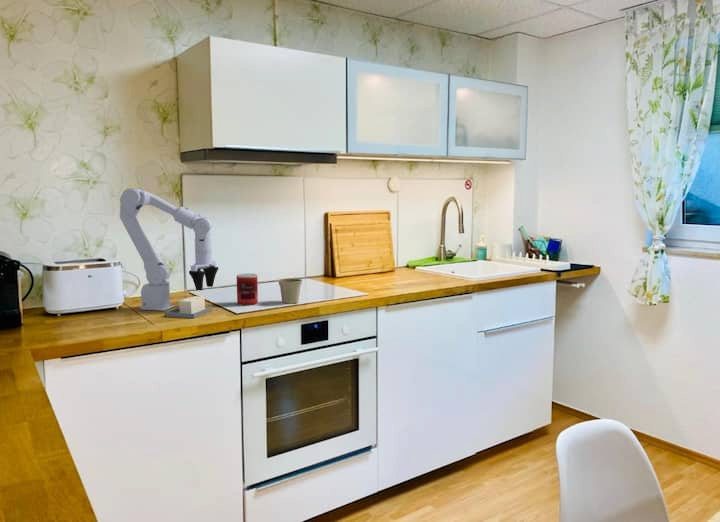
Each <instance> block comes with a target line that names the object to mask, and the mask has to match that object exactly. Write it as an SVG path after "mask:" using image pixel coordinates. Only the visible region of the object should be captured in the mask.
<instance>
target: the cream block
mask: <svg viewBox="0 0 720 522" xmlns="http://www.w3.org/2000/svg"><path fill="white" fill-rule="evenodd" d="M178 302H179V304H178V305H179V307H180V313H190V314H193V313H196V312H199V311H201V310H204V309H206V306H205V302H206V300H205V296H196V295H194V296H190V297H189V296H188V297H187V298H184V299H181V300H179V301H178Z"/></svg>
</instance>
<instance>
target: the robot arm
mask: <svg viewBox="0 0 720 522" xmlns="http://www.w3.org/2000/svg"><path fill="white" fill-rule="evenodd" d="M119 197H120V198H119V202H120V205H119V206H120V208H119V219H120V220H121V223H122V225H123V226H124V228H125V230H126V232H127V234H128V235H129V237H130V239H131V241H132V243H133V245H134V247H135V250H137V253H138V255H139V256H140V258H141V260H142V262H143V269H144V271H145V273H146V277H145V278H146V281H148V283H145V284H143V286H142V287H141V290H140V300H141V301H140V303H141V307H140V309H139V310H141V311H142V310H143V311H144V310H145V311H166V310H170V309H173V308H176V305H175V304H171V293H170V292H171V291H170V281H169V280H168V279H169V277H170V275H171V270H170V268H169V267H168V265H166V264H164V262H163V261H162V259H161V258H160V257H159V256H158V255H157V253H156V251H155V249H154V247H153V246H152V244H151V241H150V240H149V237H148V236H147V234H146V232H145V231H144V228H143V226H142V225H141V223H140V220H139V219H138V217H137V216H138V214H139V212H140V210H141V208H142V207H143V206H152V207H155V208H157V209H159V210H161V211H163V212H165V213H167V214H169V215H171V216H172V217H173V220H174V221H175V222H177V223H179V224H181V225H182V226H185V227H187V228H188V229H190V230H193V232H194V255H195V257H194V258H195V259H194V261H195V262H194V263H193V264H192V265H190V270H189V271H188V274H189V276H190V277H191V279H192V281H193V284H194V286H195V287H194V288H195V290H196V291H203V289H204V288H203V287H204V277H205V282H206V287H209V288H212V287H214V282H215V279H216V275H217V274H218V273H217V272H218V271H219V266H217V260H213V259H212V258H213V257H212V255H213V254H212V238H211V237H212V236H211V235H212V234H211V230H212V226H213V225H212V222H211V221H210V220H209V219H208V218H207V217H204V216H202V214H201V213H198V214H197V213H195V212H194V211H192V210H190V208H189V207H187V206H179V207H177V206H175V205H173V204H171V203H170V202H168V201H166V200H165V199H162V197H159V196H158V195H156V194H154V193H152V192H149V191H148V190H147V191H146V190H144V189H142V188H135V187H134V188H133V187H129V188H126V189H124V190H123V192H122V194H121V195H120V196H119Z"/></svg>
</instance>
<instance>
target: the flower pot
mask: <svg viewBox="0 0 720 522" xmlns="http://www.w3.org/2000/svg"><path fill="white" fill-rule="evenodd" d="M277 282H278V286H279V290H280V296H281V302H282V303H283V304H286V305H287V304H289V305H292V303H293V304H294V303H295V304H298V303H299V300H300V293H301V292H300V291H301V286H302V282H303V279H301V278H281V279H277Z"/></svg>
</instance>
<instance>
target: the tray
mask: <svg viewBox="0 0 720 522" xmlns="http://www.w3.org/2000/svg"><path fill="white" fill-rule="evenodd" d="M212 311H213V307H212V306H209V307H205V309H204V310H201V311H199V312H196V313H193V314H190V313H180V307H175V308H172V309H169V310H168V311H165V312H164V317H165V318H180V319H182V318H184V319H195V318H198V317H200V316H203V315H205V314H208V313H210V312H212Z"/></svg>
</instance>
